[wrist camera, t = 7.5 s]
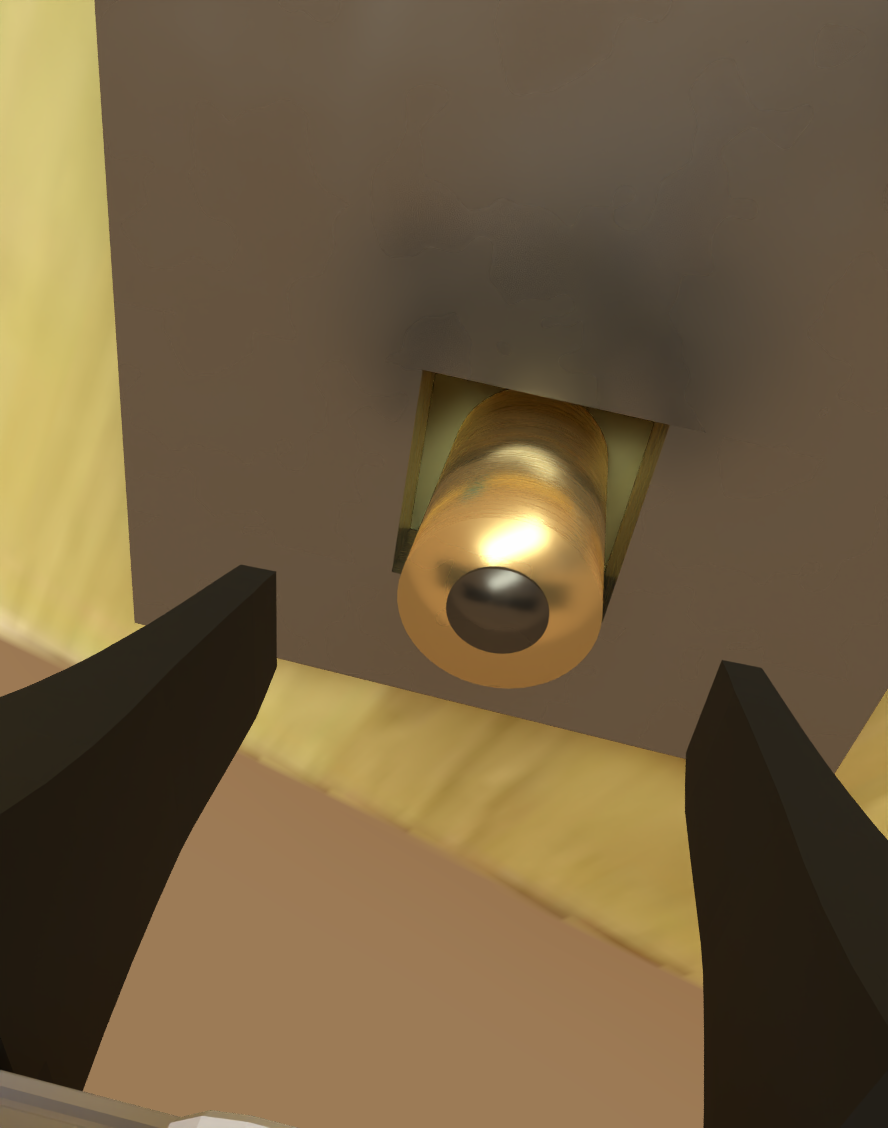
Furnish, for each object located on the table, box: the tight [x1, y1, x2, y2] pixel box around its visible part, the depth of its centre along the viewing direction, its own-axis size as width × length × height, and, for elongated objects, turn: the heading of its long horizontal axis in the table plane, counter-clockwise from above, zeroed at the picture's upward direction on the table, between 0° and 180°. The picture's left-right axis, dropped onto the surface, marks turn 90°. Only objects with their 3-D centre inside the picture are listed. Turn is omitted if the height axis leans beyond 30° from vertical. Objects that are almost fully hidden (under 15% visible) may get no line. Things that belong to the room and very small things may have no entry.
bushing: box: [397, 389, 608, 689], centre depth 17 cm, size 4×4×6 cm
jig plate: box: [95, 0, 888, 774], centre depth 18 cm, size 18×16×2 cm
